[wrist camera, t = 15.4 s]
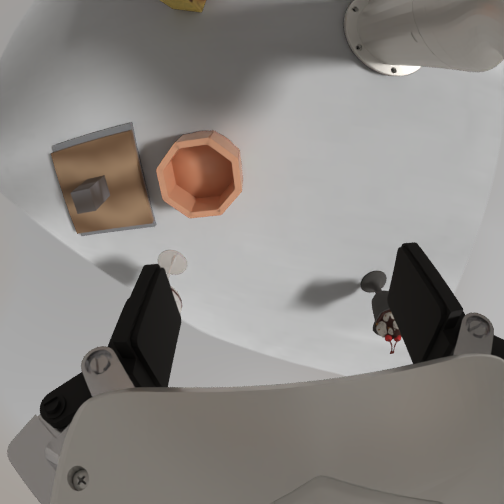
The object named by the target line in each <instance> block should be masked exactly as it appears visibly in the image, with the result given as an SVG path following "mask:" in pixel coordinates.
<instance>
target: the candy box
mask: <svg viewBox="0 0 504 504" xmlns="http://www.w3.org/2000/svg"><path fill="white" fill-rule="evenodd" d="M160 1H162V2H163V3H165V4H166V5H168V6H169V7H171V8H172V9H178V10H187V11H195V12H202V11H203V8H204V5H205V2H206V0H160Z"/></svg>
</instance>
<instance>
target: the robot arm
mask: <svg viewBox="0 0 504 504" xmlns="http://www.w3.org/2000/svg"><path fill="white" fill-rule="evenodd" d="M352 9H354V10H355V12H354V11H353V10H352ZM344 32H345V36H346V39H347V42H348V44H349V46H350V48H351V49H352V51H353V52H354V54H355V55H356V56H357V57H358V58H359V59H360V60H361V61H362V62H363V63H364V64H365V65H366V66H368V67H369V68H371V69H373V70H374V71H376V72H379V73H382V74H384V75H390V76H405V75H409V74H412V73H414V72H415V71H417V70H418V69H420V68H421V67H434V68H444V69H452V70H460V71H467V72H484V71H488V70H490V69H493V68H494V67H496V66H497V65H498V64H499V63H501V62H502V61H503V59H504V0H354V1H353V2H351V4H350V5H349V7H348V8H347V10H346V13H345V16H344ZM356 46H358V48H359V49H358V50H357V49H356ZM391 69H392V72H391ZM387 303H388V306H389V308H390V311H391V313H392V315H393V317H394V319H395V322H396V324H397V326H398V328H399V331H400V333H401V335H402V338H403V340H404V342H405V345H406V347H407V350H408V352H409V355H410V357H411V360H412V362H413V364H411V365H406V366H402V367H397V368H392V369H387V370H382V371H376V372H371V373H365V374H359V375H353V376H346V377H339V378H332V379H326V380H325V379H324V380H317V381H307V382H298V383H288V384H276V385H261V386H243V387H203V388H202V387H196V388H195V387H194V388H178V387H177V388H175V387H170V388H169V387H168V382H169V378H170V373H171V368H172V363H173V358H174V353H175V349H176V343H177V339H178V335H179V330H180V325H181V316H180V313H179V310H178V307H177V304H176V301H175V298H174V295H173V292H172V289H171V286H170V283H169V280H168V277H167V274H166V271H165V269H164V268H163V267H160V265H159V264H151V265H144V267H143V269H142V271H141V273H140V276H139V278H138V280H137V282H136V285H135V287H134V289H133V291H132V294H131V296H130V298H129V299H128V300H127V301H126V303H125V305H124V308H123V310H122V313H121V315H120V317H119V320H118V322H117V325H116V327H115V330H114V332H113V335H112V337H111V339H110V342H109V345H108V347H104V346H102V347H97V348H94V349H92V350H91V351H89V352H88V353H87V354H86V355H85V356H84V358H83V360H82V363H81V369H82V372H81V373H80V374H78V375H77V376H75V377H73V378H72V379H70V380H69V381H67V382H66V383H64V384H63V385H61V386H59V387H58V388H56V389H55V390H53V391H52V392H50V393H49V394H47V395H46V396H45V397H44V399H43V400H42V402H41V405H40V415H39V416H36V415H35V416H34V417H33V418H32V419H31V420H30V421H29V422H28V423H27V424H26V426H25V427H24V428H23V429H22V430H21V431H20V433H19V434H17V436H16V437H15V438H14V439H13V440H12V441H11V443H10V444H9V446H8V450H7V452H8V458H9V460H10V462H11V464H12V465H13V467H14V468H15V470H16V471H17V472H18V474H19V475H20V477H21V478H22V480H23V481H24V482H25V484H26V485H27V486H28V488H29V489H30V490H31V492H32V493H33V494H34V496H35V497H36V498H37V499H38V501H39V502H40V503H41V504H504V340H503V339H501V338H499V337H497V336H495V335H494V328H493V326H492V323H491V322H490V321H489V319H487V318H486V317H485V316H483V315H481V314H478V313H469V314H467V315H465V314H464V312H463V308H462V307H461V305H460V303H459V302H458V300H457V299H456V297H455V296H454V294H453V293H452V291H451V290H450V288H449V287H448V285H447V284H446V282H445V281H444V279H443V278H442V277H441V275H440V274H439V272H438V271H437V269H436V268H435V267H434V265H433V264H432V263H431V261H430V260H429V258H428V257H427V256H426V254H425V253H424V252H423V250H422V249H421V248H420V247H419V245H418V244H417V243H415V242H414V243H404V244H402V246H401V247H400V248H398V251H397V256H396V261H395V266H394V271H393V275H392V280H391V284H390V289H389V293H388V297H387Z"/></svg>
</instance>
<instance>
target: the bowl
mask: <svg viewBox="0 0 504 504" xmlns="http://www.w3.org/2000/svg"><path fill="white" fill-rule="evenodd" d="M156 172H157V177H158V181H159V186H160V190H161V194H162V198H163V201H165V202H166V203H168V204H169V205H171V206H172V207H174V208H175V209H176V210H178V211H179V212H181V213H182V214H184V215H185V216H187V217H188V218H189V217H190V218H197V217H207V216H217V215H221V214H223V213H224V211H225V210H226V209H227V208H228V207H229V206H230V205H231V203H232V202H233V201H234V200H235V199H236V198H237V196H238V195H239V194H240V193H241V192H242V184H243V175H242V163H241V157H240V150H239V148H237V147H236V146H235V145H234V144H233V143H232V142H231V141H230V140H229V139H228V138H226V137H225V136H223V135H221V134H219V133H217V132H216V131H214V130H212V131H198V132H194V133H191V134H185V135H182V136H181V137H180V138H179V139H178V140H177V141H176V142H175V143H174V144H173V145H172V147H171V148H170V150H169V151H168V153H167V154H166V155H165V157H164V158H163V160H162V161H161V163H160V164H159V166H158V167H157V170H156Z"/></svg>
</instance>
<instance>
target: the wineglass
mask: <svg viewBox="0 0 504 504" xmlns="http://www.w3.org/2000/svg"><path fill="white" fill-rule="evenodd" d="M158 264H159V265H160V267H163V268H164V269H165V271H166V273H167V277H168V280H169V276H170V274H171V275H178V274H181V273H183V272H184V271H185V270H186V268H187V261H186V259H185V257H184V256H183V255H182V254H181V253H179V252H177V251H174V250H167V251H164V252H162V253H161V254H160V255H159V257H158ZM171 289H172V292H173V295H174V298H175V301H176V304H177V307H178V310H179V313H181V310H182V301H181V298H180V295H179V293H178V292H177V291H176V290H175V289H174V288H173V287H172V286H171Z"/></svg>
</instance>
